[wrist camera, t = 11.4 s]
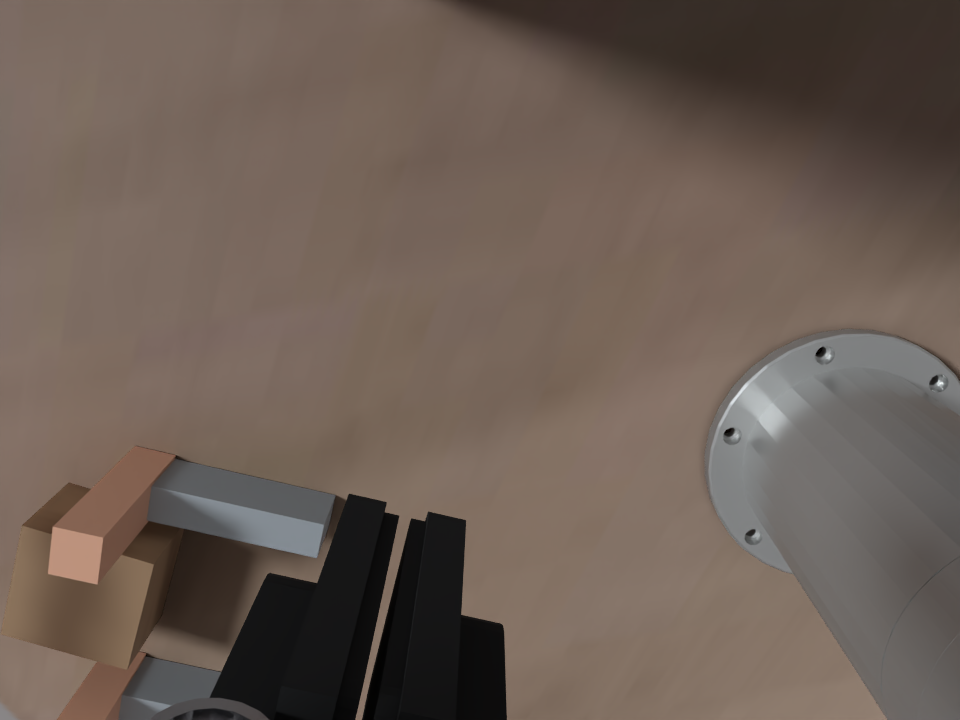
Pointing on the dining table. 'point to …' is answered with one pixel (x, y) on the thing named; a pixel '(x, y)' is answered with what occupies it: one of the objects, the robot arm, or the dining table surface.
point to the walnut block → (89, 590)
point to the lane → (185, 504)
